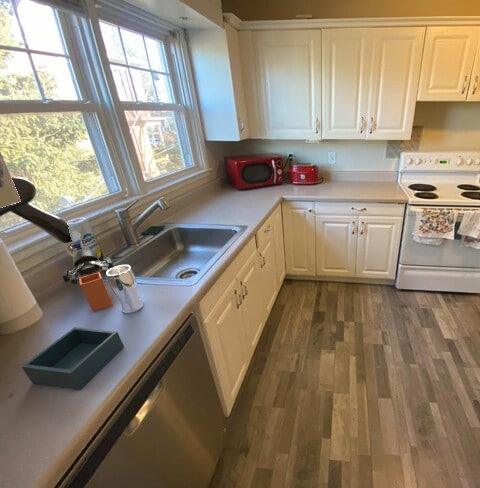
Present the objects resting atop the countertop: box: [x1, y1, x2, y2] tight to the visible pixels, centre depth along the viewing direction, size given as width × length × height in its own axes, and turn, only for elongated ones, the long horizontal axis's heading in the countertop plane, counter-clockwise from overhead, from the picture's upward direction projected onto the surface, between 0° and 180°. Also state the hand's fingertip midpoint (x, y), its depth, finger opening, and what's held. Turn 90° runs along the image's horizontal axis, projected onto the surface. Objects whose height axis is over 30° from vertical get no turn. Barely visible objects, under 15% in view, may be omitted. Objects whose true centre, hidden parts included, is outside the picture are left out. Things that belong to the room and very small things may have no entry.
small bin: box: [78, 272, 114, 313], centre depth 94 cm, size 6×6×11 cm
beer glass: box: [106, 264, 144, 314], centre depth 92 cm, size 7×7×15 cm
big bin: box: [21, 326, 125, 391], centre depth 73 cm, size 14×14×6 cm
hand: (90, 277), depth 96 cm, fingers open, 8 cm apart
